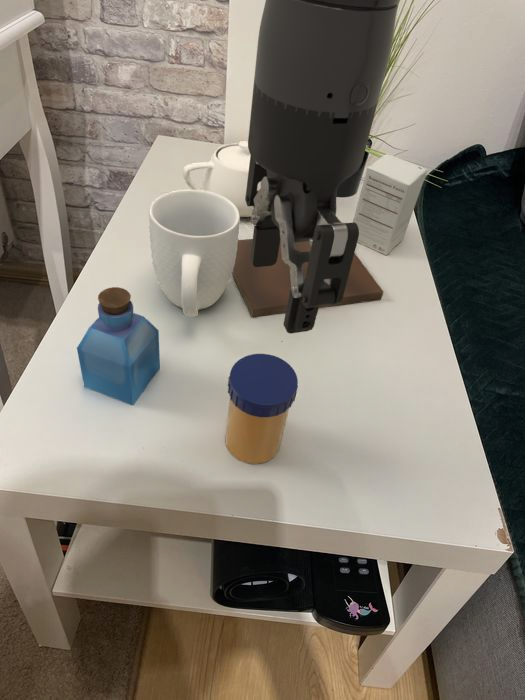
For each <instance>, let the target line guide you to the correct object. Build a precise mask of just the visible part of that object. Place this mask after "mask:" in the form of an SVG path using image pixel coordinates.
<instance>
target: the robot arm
mask: <svg viewBox="0 0 525 700" xmlns="http://www.w3.org/2000/svg"><path fill="white" fill-rule="evenodd" d="M399 2H400V0H265V2H264V6H263V11H262V15H261V20H260V25H259V28H258V29H259V30H258V38H257V47H256V55H255V56H256V58H255V68H254V78H253V87H252V88H253V89H252V97H251V108H250V117H249V118H250V119H249V127H248V137H247V141H248V149H249V152H250V154H251V156H250V164H249V172H248V181H247V189H246V196H245V201H246V204H247V206H253V207H254V209H253V210H252V213H251V217H250V220H251V223H252V225H253V234H252V239H253V241H252V249H251V257H250V260H251V262H252V264H253V266H254V267H264V266H272V265H274V264H275V263H276V262H277V258H278V252H279V246H280V240H281V252H282V260H283V261H284V263H286V264H288V265H289V267H290V279H291V290H290V293H289V298H288V303H287V309H286V313H284V314H285V315H284V320H283V327H284V329H285V331H286V333H287V334H290V335H291V334H298V333H299V334H300V333H304V332H305V333H306V332H309V331H312V330H313V329H314V327H315V324H316V320H317V315H318V312H319V309H320V308H319V306H323V305H330V304H333V305H334V304H340V303H341V302H342V299H343V295H344V292H345V288H346V284H347V280H348V276H349V272H350V268H351V264H352V261H353V257H354V253H355V252H356V249H357V245H358V242H357V241H358V237H359V228H358V226H357V224H356V223H355V222H353V221H352V222H342V221H341V220H340V219H339V217H338V216H337V215H336V214H337V197H338V196H337V195H338V189H339V187H340V186H341V185H342V184H343V183H344V182H345V181H346V180H347V179H348V178H350V177H352V176H353V175H355V174H356V173H357V172H358V171H359V169H360V168H361V166H362V163H363V160H364V156H365V153H366V148H367V146H368V141H369V137H370V134H371V129H372V125H373V122H374V118H375V114H376V110H377V107H378V103H379V99H380V95H381V92H382V88H383V85H384V81H385V76H386V73H387V68H388V65H389V62H390V61H389V60H390V57H391V52H392V46H393V42H394V41H393V39H394V33H395V24H396V18H397V14H398V13H397V12H398V9H399ZM259 182H261V183H260V184H261V188H260V190H259V191H257V187H258V183H259ZM299 242H309V244H310V246H311V251H301V252H300V251H298V250H297V249H296V248H295V245H294V243H299ZM355 254H356V253H355ZM305 262H308V267H307V272H306V277H305V279H304V280H303V269H302V266H303V264H304V263H305ZM329 279H331V283H330V280H329Z"/></svg>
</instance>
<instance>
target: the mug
mask: <svg viewBox="0 0 525 700" xmlns="http://www.w3.org/2000/svg"><path fill="white" fill-rule="evenodd" d="M148 215H149V216H148V218H149V220H148V221H149V227H148V228H149V241H150V251H151V259H152V266H153V269H154V273H155V275H156V276H155V277H156V279H157V282H158V284H159V286H160V288H161V291H162V293H163V294H164V295H165V296H166V298H167V299H168V300H169V301H170V302H171V303H172V304H173V305H175V306H177V308H181V309H182V313H183V315H184V316H186V317H188V318H189V317H190V318H195V317H197V316H198V315H199V310H204V309H207V308H209V307H211V306H212V305H214V304H215V303H216V302H217V301H218V300H219V299H220V298H221V297H222V296H223V294H224V292H225V291H226V290H227V287H228V286H229V283H230V281H231V278H232V276H233V275H232V272H233V267H234V264H235V259H236V252H237V244H238V240H239V234H240V219H241V217H240V215H239V211H238V209H237V207H236V206H235V205H234V204H233V203H232V202H231V201H230V200H228V199H227V198H225V197H223V196H221V195H219V194H216V193H213V192H209V191H204V190H194V189H192V188H190V189H177V190H173V191H169V192H166V193H163V194H161V195H159V196H158V197H156V198H155V199H154V200H153V201H152V202H151V204H150V206H149V211H148Z"/></svg>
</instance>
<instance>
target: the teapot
mask: <svg viewBox="0 0 525 700" xmlns="http://www.w3.org/2000/svg"><path fill="white" fill-rule="evenodd" d="M250 156H251V154H250V152H249V149H248V140H240V141H239V142H237V143H236V142H233V143H227V144H223V145H221V146H219V147H218V148H216V149H215V151H214V152H213V153H212V155H211V157H210V159H209V161H198V162H192V163H188V164H186V165H185V166H184V167H183V168H182V177H183V180H184V182H185V183H186V184H187V186H188V187H189V188H190V189H194V190H204V191H209V192H213V193H216V194H219V195H221V196H223V197H225V198H227V199H228V200H230V201H231V202H232V203H233V204H234V205H235V206H236V207H237V209H238V211H239V215H240V218H251V213H252V210H253V209H254V207H253V206H247V204H246V201H245V196H246V189H247V181H248V172H249V164H250ZM202 169H203V170H204V171H203V174H202V180H201V187H200V186H198V185H197V184H196V183H195V182H194V181H193V180H192V178H191V174H190V173H191V172H192V171H196V170H202ZM260 183H261V182H259V183H258V187H257V191H259V190H260V188H261V184H260Z"/></svg>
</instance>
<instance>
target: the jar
mask: <svg viewBox="0 0 525 700" xmlns="http://www.w3.org/2000/svg"><path fill="white" fill-rule="evenodd" d="M289 412H290V408H289V409H288V410H286V411H285V412H284V413H282V414H280V415H278V416H273V417H269V418H268V417H256V416H252V415H249V414H247V413H245V412H242V411H241V410H240V409H239V408H238V407H236V406H235V404H234V403H233V402H232V400H230V399H229V401H228V410H227V420H226V428H225V436H224V437H225V438H224V441H225V446H226V448H227V450H228V452H229V453H230V454H231V455H232V456H233V457H234V458H235V459H237V460H239V461H241V462H242V463H246V464H250V465H258V464H264V463H266V462H269V461H270V460H272V459H273V458H274V457H276V455H277V454H278V453H279V452H280V451H279V450H280V448H281V445H282V440H283V437H284V432H285V428H286V424H287V420H288V415H289Z"/></svg>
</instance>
